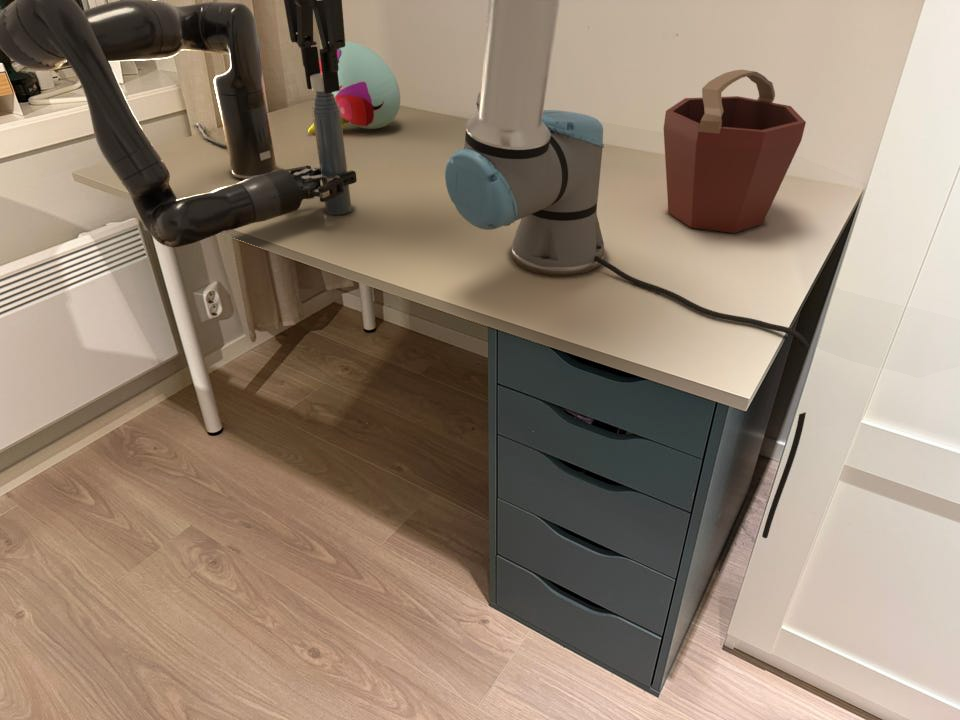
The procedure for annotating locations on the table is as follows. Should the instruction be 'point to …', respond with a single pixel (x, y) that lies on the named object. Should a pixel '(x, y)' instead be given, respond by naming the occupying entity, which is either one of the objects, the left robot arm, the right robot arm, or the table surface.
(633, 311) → the table surface
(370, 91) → the toy
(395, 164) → the table surface
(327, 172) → the bottle
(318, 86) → the cap
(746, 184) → the bucket
